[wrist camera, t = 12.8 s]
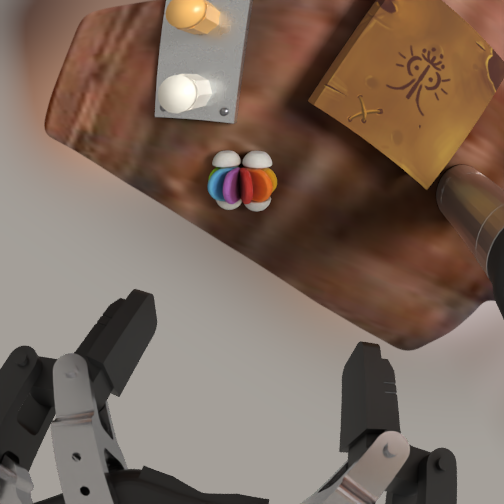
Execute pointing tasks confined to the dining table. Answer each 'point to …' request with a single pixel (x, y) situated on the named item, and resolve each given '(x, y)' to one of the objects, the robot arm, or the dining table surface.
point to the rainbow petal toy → (242, 180)
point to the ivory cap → (184, 92)
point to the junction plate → (208, 60)
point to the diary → (411, 83)
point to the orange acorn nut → (192, 16)
